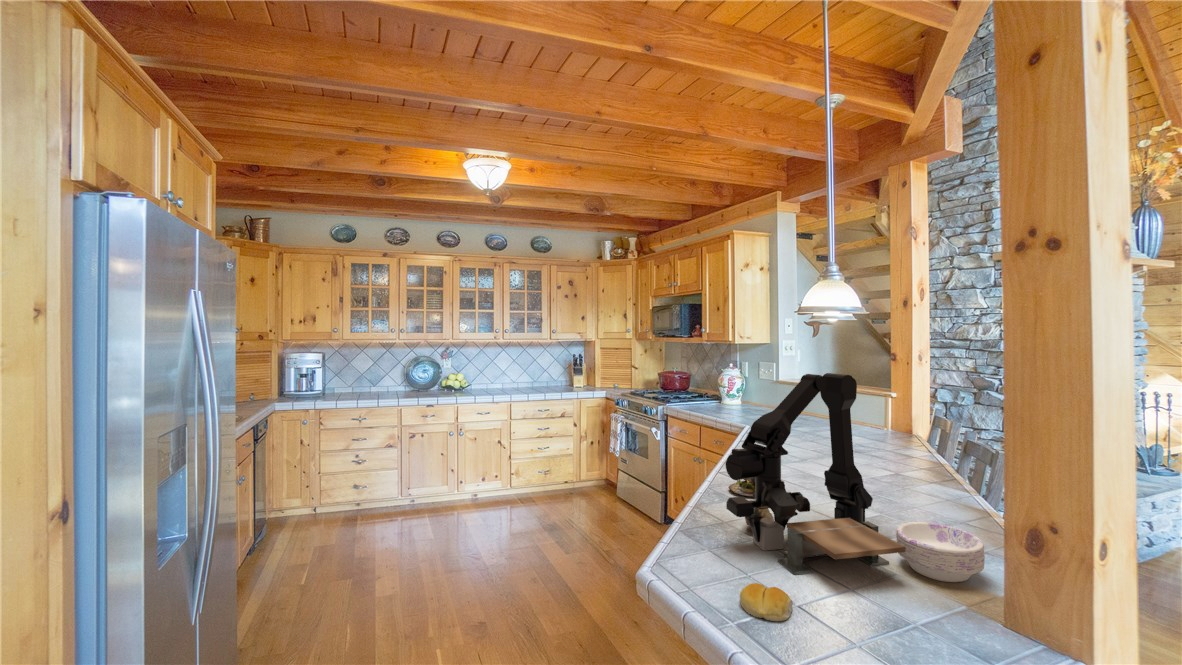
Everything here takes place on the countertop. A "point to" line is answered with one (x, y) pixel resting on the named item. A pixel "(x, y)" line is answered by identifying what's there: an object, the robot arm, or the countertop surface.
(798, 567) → the trapdoor frame
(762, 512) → the fossil
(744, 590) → the bread roll
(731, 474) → the robot arm
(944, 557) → the paper bowls
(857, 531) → the trapdoor
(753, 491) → the burger
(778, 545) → the gray block
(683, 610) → the countertop surface
